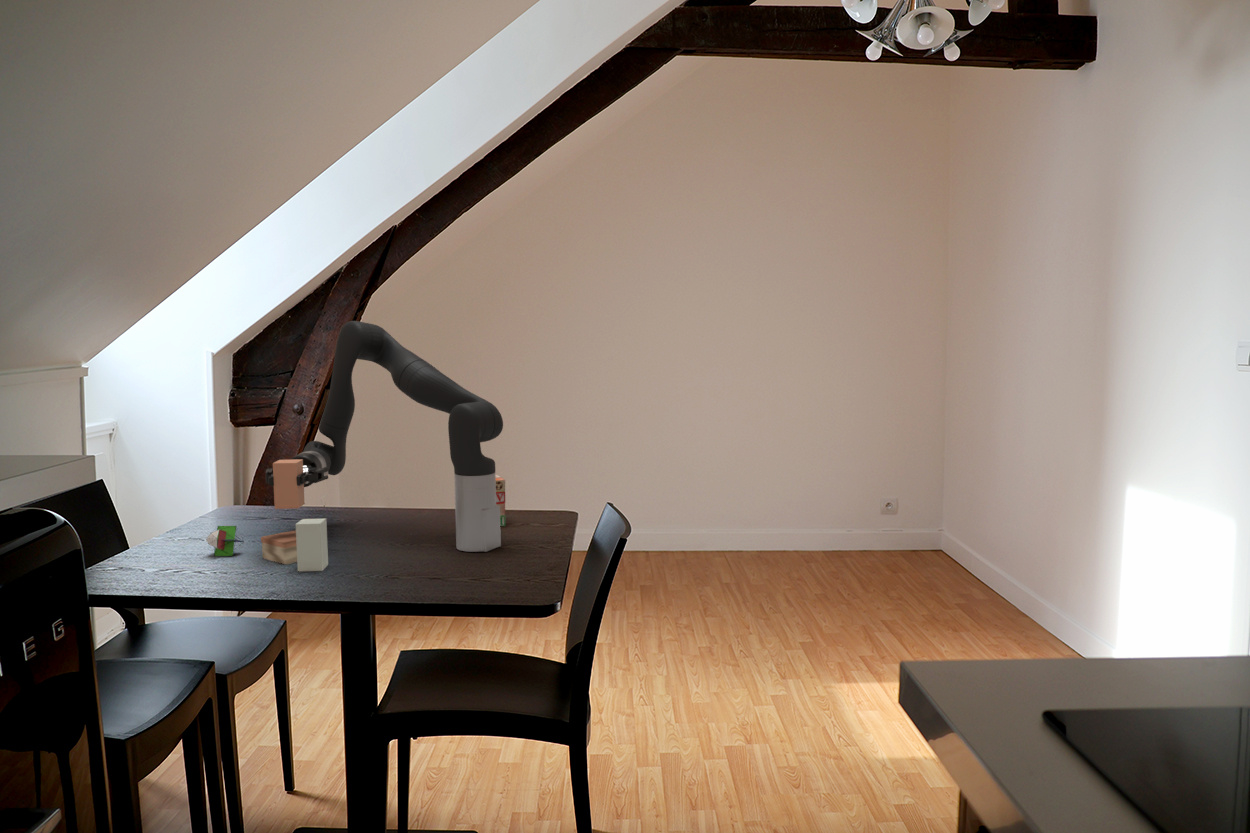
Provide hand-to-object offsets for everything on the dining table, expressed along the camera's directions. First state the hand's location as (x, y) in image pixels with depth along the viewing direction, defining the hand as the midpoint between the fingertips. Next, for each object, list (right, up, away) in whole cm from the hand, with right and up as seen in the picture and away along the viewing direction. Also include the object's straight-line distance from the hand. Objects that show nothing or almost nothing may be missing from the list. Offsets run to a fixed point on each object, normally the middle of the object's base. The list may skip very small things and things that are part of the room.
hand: (285, 481), depth 197 cm
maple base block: (0, -17, +4) cm, 18 cm away
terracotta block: (0, -6, +3) cm, 7 cm away
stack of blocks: (+36, -13, +42) cm, 57 cm away
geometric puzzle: (-16, -17, +7) cm, 24 cm away
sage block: (+8, -18, -5) cm, 20 cm away
